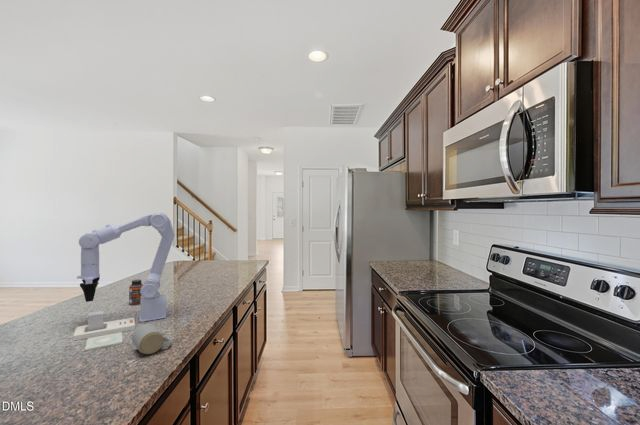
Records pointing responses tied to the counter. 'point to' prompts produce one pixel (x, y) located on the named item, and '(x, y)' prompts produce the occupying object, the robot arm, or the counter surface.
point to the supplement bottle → (135, 292)
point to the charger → (95, 321)
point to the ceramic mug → (149, 339)
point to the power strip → (111, 328)
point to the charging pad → (103, 341)
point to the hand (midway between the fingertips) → (90, 298)
